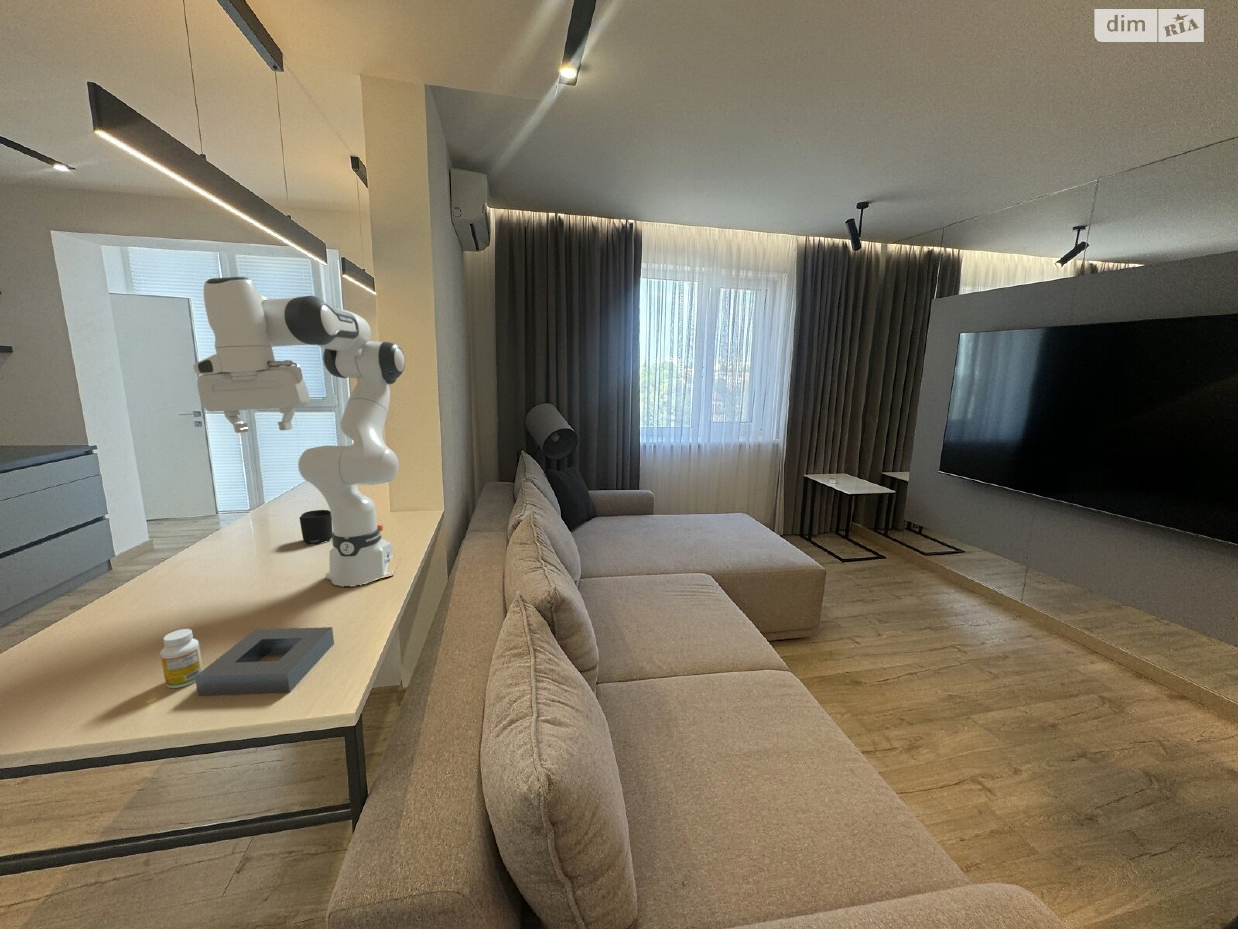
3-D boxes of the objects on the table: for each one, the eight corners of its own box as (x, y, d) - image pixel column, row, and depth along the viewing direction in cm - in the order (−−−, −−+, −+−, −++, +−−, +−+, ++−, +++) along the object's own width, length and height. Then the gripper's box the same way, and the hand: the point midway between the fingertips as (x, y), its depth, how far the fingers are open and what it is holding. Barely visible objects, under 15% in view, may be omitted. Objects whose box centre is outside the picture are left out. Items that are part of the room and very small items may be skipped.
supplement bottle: (175, 674, 90) (166, 629, 89) (209, 668, 92) (201, 624, 91) (160, 692, 86) (151, 644, 84) (196, 685, 87) (188, 639, 86)
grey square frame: (257, 646, 100) (255, 629, 99) (334, 643, 102) (332, 627, 101) (198, 696, 85) (194, 676, 84) (289, 692, 86) (287, 673, 85)
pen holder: (295, 543, 160) (292, 516, 158) (320, 534, 169) (317, 508, 167) (316, 546, 157) (313, 519, 155) (340, 538, 166) (337, 511, 164)
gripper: (309, 359, 94) (323, 426, 97) (213, 365, 95) (230, 431, 98) (286, 359, 88) (302, 430, 91) (184, 365, 88) (203, 436, 92)
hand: (264, 431), depth 94 cm, fingers open, 8 cm apart
